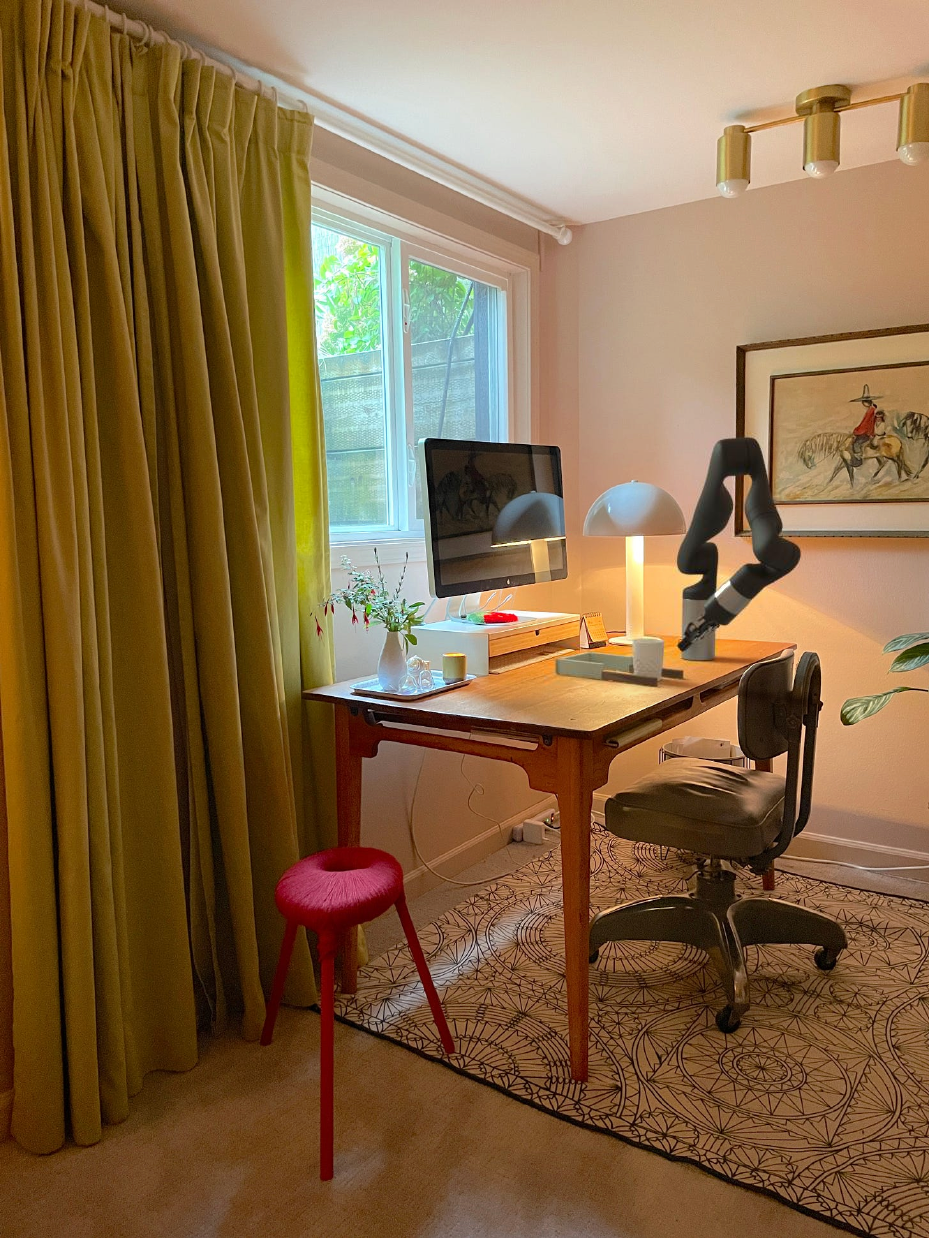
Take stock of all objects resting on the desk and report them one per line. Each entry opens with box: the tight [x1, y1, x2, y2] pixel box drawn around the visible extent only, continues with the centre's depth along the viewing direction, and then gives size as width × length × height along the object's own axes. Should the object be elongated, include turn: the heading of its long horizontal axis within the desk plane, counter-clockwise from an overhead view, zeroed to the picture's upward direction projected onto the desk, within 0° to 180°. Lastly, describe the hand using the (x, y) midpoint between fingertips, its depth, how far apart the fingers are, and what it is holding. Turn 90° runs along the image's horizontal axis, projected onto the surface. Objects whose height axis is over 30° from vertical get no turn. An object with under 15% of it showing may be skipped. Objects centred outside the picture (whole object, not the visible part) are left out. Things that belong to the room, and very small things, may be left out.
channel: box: [601, 665, 684, 687], centre depth 239 cm, size 15×15×2 cm
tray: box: [555, 651, 633, 681], centre depth 248 cm, size 15×14×4 cm
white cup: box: [631, 638, 665, 682], centre depth 237 cm, size 8×8×10 cm
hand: (680, 648), depth 231 cm, fingers closed
